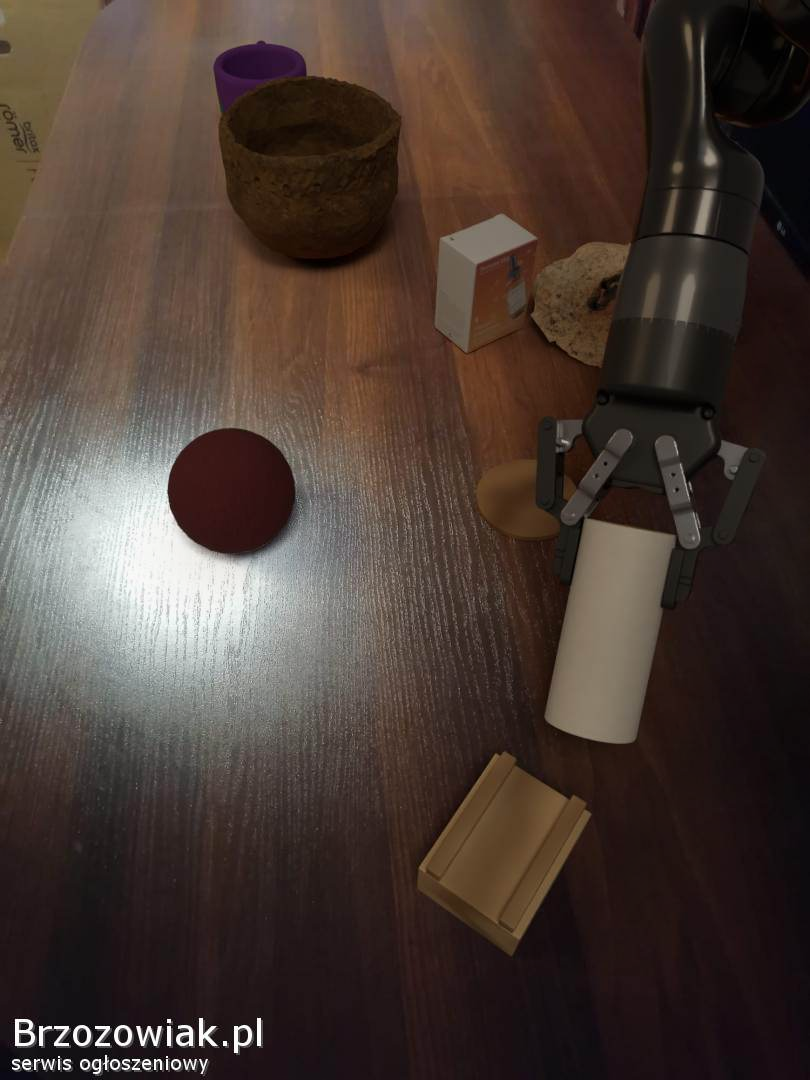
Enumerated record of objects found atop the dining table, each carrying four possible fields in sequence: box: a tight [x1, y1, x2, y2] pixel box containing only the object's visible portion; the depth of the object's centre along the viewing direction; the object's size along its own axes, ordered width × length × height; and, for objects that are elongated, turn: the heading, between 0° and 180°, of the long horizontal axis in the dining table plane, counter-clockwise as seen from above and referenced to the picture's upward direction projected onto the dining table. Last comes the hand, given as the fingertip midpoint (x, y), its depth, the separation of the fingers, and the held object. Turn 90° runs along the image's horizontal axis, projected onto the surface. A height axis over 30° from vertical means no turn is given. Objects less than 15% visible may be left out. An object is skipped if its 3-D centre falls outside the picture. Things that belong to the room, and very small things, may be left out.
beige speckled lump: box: [530, 241, 631, 369], centre depth 89 cm, size 18×14×8 cm
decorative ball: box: [166, 427, 296, 555], centre depth 68 cm, size 10×10×10 cm
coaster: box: [475, 458, 578, 542], centre depth 75 cm, size 9×9×1 cm
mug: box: [212, 40, 308, 116], centre depth 111 cm, size 17×11×10 cm, turn 5°
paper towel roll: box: [544, 518, 679, 745], centre depth 54 cm, size 6×13×6 cm
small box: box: [434, 213, 539, 354], centre depth 86 cm, size 8×6×10 cm
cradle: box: [416, 750, 592, 957], centre depth 54 cm, size 7×9×5 cm
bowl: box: [217, 75, 403, 260], centre depth 93 cm, size 19×19×15 cm
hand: (617, 595), depth 54 cm, fingers closed on paper towel roll, 5 cm apart
